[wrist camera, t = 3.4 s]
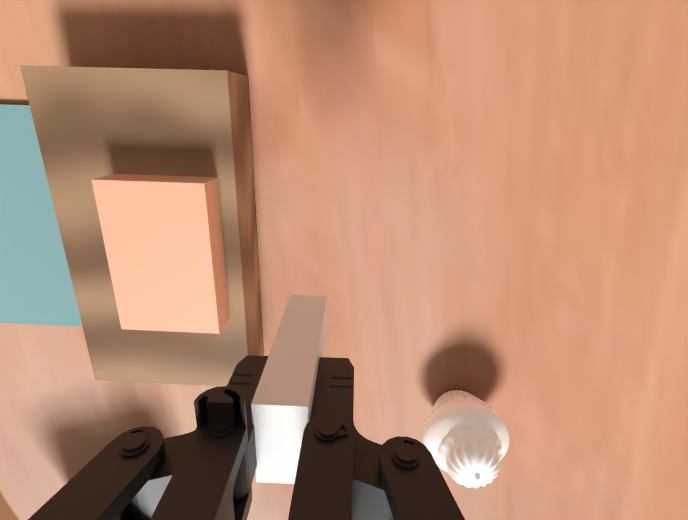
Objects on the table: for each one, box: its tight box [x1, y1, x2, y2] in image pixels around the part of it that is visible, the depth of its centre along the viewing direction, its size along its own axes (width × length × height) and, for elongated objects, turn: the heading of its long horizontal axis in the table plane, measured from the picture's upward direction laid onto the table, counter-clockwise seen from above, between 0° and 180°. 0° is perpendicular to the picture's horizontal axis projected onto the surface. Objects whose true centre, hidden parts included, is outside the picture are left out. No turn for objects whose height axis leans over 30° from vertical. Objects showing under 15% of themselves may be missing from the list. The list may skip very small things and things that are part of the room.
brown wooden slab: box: [20, 65, 264, 386], centre depth 26 cm, size 20×11×4 cm, turn 179°
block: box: [92, 174, 230, 334], centre depth 23 cm, size 9×6×2 cm, turn 179°
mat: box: [0, 104, 82, 326], centre depth 28 cm, size 16×11×1 cm
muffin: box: [423, 390, 509, 488], centre depth 29 cm, size 6×6×7 cm
